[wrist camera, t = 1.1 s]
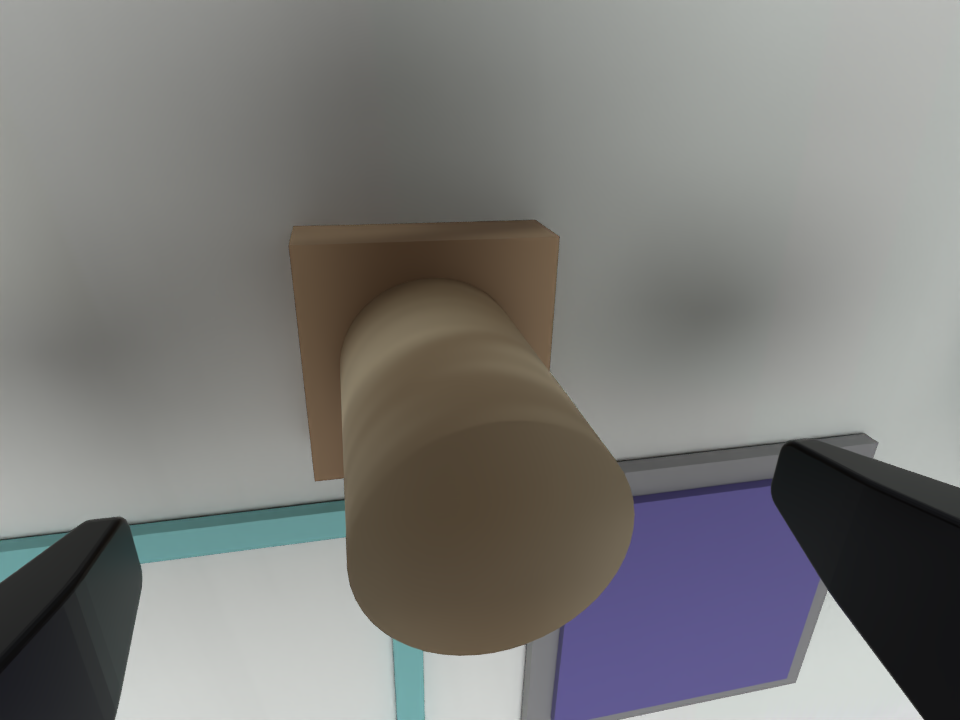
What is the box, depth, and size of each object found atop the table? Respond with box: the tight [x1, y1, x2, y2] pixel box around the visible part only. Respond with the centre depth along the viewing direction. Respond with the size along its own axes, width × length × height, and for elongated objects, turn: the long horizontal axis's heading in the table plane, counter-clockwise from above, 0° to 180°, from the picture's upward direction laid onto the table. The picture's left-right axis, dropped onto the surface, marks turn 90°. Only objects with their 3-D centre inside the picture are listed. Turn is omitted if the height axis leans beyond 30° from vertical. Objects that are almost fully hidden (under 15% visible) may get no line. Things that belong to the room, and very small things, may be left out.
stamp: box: [289, 220, 635, 656], centre depth 11 cm, size 5×5×7 cm
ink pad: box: [521, 434, 878, 720], centre depth 19 cm, size 10×10×1 cm
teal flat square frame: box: [0, 500, 425, 720], centre depth 16 cm, size 10×10×1 cm
